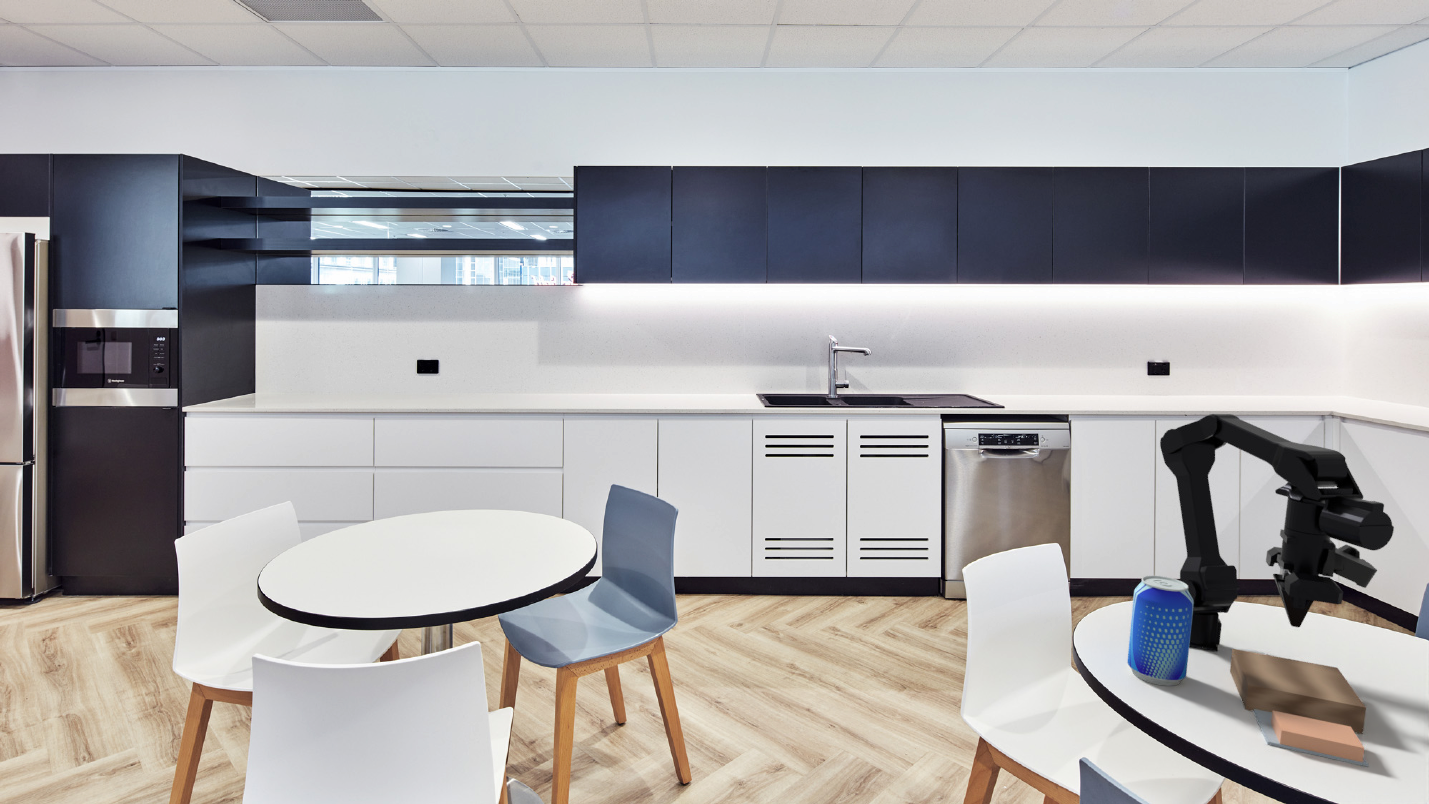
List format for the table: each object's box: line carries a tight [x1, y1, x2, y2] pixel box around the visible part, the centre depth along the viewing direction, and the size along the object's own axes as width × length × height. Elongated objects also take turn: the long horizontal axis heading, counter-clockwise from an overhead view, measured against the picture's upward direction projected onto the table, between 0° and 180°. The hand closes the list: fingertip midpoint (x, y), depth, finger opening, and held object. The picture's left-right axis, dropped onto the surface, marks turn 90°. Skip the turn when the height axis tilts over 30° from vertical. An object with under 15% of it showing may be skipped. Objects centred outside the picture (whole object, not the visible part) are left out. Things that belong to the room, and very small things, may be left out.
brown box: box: [1229, 648, 1367, 735], centre depth 118 cm, size 14×14×4 cm
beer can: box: [1127, 575, 1194, 687], centre depth 124 cm, size 8×8×16 cm
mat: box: [1253, 709, 1369, 767], centre depth 107 cm, size 11×10×1 cm
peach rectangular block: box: [1271, 710, 1365, 762], centre depth 105 cm, size 9×6×2 cm, turn 64°
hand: (1295, 626), depth 119 cm, fingers closed
